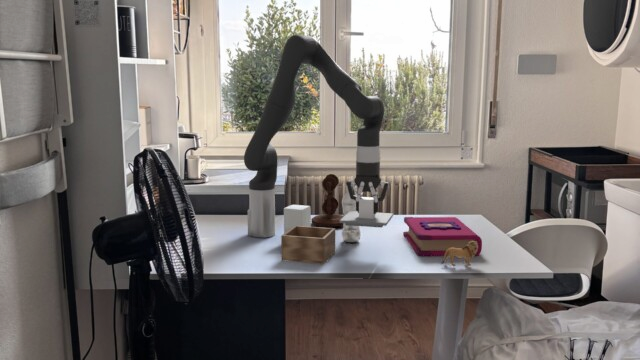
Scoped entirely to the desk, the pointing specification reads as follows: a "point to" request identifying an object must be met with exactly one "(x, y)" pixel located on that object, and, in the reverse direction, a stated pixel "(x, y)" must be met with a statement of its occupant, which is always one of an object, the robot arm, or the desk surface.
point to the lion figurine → (461, 253)
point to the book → (438, 235)
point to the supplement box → (297, 216)
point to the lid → (366, 215)
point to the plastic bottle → (348, 205)
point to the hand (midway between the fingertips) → (367, 212)
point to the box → (308, 244)
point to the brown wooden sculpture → (329, 204)
